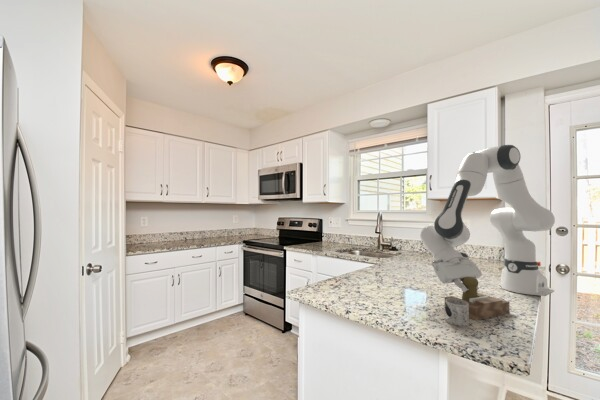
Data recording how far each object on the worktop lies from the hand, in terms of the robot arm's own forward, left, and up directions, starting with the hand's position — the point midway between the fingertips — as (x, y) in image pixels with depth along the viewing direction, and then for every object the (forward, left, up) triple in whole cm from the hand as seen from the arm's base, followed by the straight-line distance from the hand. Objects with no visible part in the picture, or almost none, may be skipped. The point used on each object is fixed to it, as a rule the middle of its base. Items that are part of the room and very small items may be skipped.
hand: (471, 290), depth 101 cm
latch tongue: (0, +3, -6) cm, 7 cm away
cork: (0, -1, -6) cm, 6 cm away
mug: (+18, +8, -7) cm, 21 cm away
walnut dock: (0, +2, -7) cm, 7 cm away
